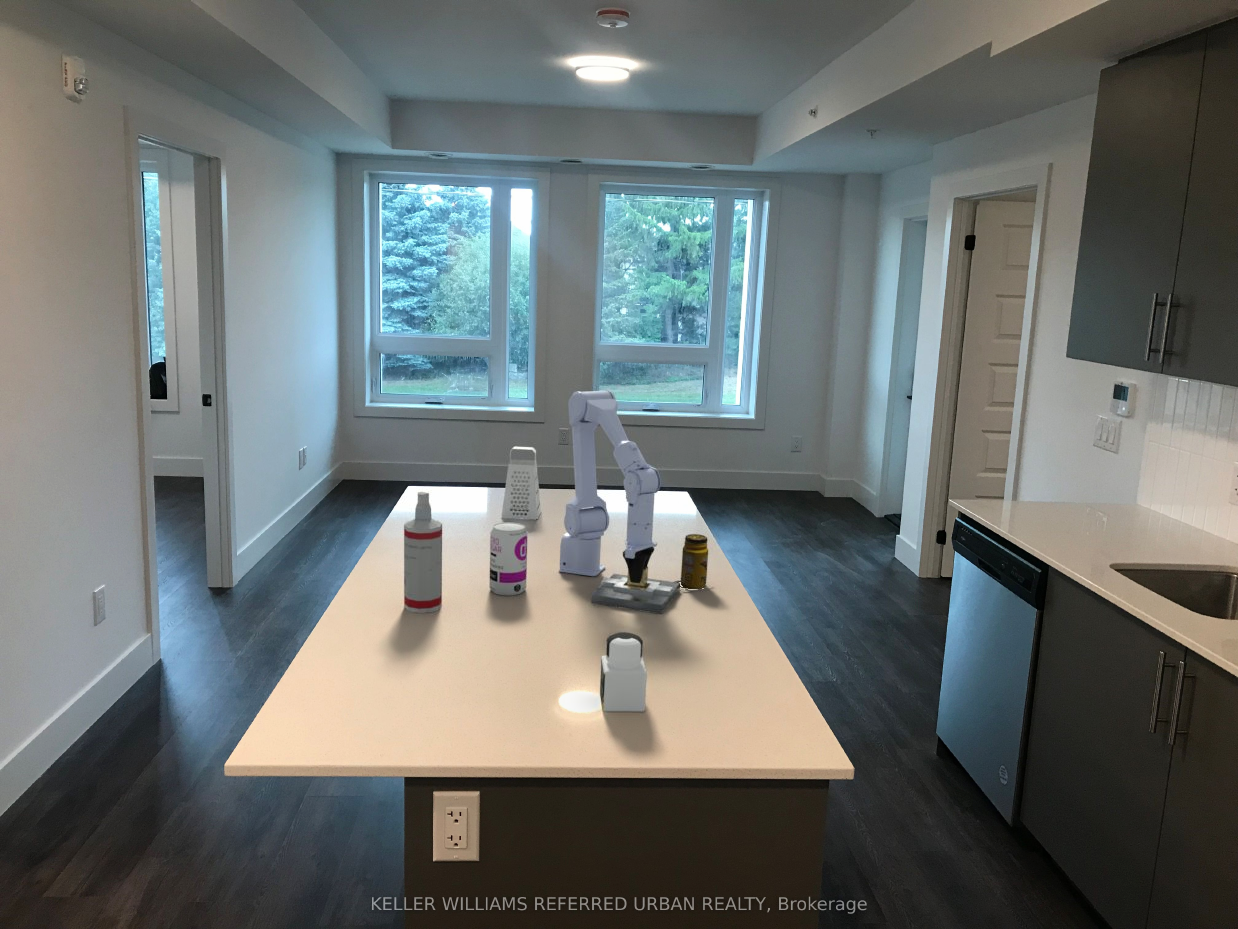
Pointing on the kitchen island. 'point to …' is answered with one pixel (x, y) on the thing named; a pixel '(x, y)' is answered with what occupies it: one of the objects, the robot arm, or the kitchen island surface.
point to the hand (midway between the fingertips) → (637, 580)
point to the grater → (522, 488)
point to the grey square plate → (635, 597)
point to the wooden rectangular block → (643, 580)
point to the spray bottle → (423, 560)
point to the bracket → (649, 591)
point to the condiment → (694, 563)
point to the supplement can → (508, 558)
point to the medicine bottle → (623, 674)
